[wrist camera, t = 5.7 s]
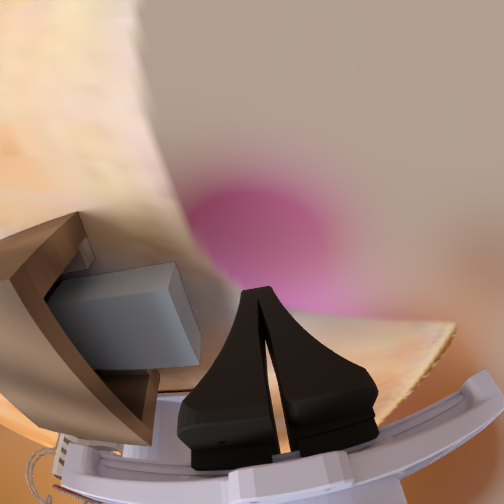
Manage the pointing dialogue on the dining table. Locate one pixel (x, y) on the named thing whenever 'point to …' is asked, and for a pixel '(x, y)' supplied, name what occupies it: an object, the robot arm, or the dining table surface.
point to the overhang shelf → (62, 346)
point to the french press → (60, 460)
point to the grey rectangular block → (129, 319)
